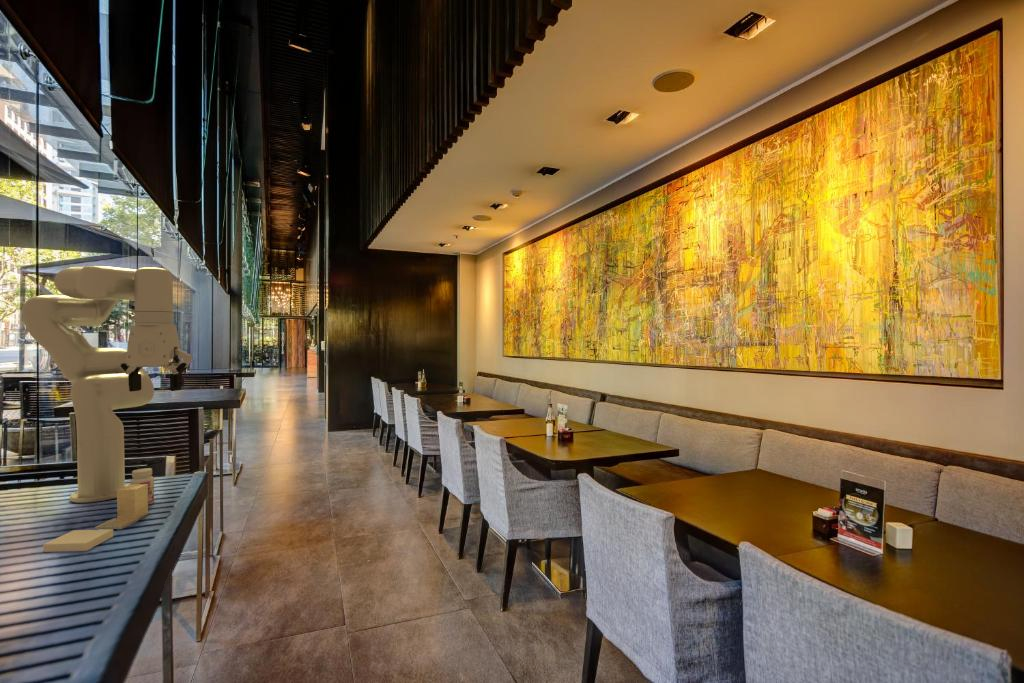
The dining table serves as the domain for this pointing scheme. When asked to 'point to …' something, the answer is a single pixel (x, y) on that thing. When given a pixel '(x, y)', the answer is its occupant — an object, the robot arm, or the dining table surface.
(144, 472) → the pill bottle
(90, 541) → the block
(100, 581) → the dining table surface
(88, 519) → the dining table surface
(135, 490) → the beige boxy piece
